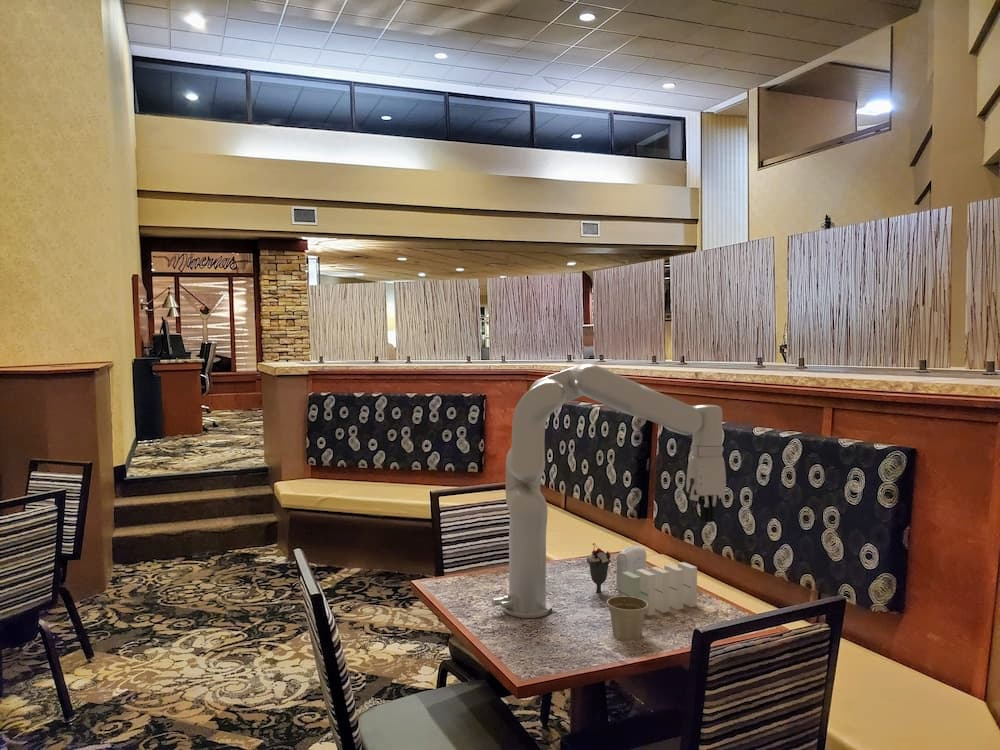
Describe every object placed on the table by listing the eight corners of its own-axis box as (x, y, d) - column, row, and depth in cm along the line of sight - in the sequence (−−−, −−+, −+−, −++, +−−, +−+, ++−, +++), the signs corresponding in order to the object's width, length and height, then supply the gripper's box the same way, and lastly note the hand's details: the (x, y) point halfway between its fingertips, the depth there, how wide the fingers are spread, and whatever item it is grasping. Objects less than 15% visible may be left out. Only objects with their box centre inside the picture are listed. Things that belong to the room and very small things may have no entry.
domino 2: (662, 612, 169) (663, 573, 169) (650, 606, 174) (650, 567, 173) (669, 611, 170) (669, 571, 170) (656, 605, 175) (656, 566, 174)
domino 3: (677, 609, 171) (677, 570, 171) (664, 603, 176) (664, 565, 175) (683, 608, 172) (683, 569, 172) (670, 602, 176) (670, 564, 176)
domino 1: (648, 615, 167) (648, 575, 167) (635, 609, 172) (636, 569, 171) (655, 614, 168) (655, 574, 168) (642, 607, 173) (642, 568, 172)
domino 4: (690, 607, 173) (691, 568, 173) (677, 600, 178) (677, 563, 177) (696, 605, 174) (697, 567, 174) (683, 599, 178) (683, 562, 178)
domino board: (632, 627, 163) (632, 622, 163) (610, 615, 171) (610, 610, 171) (705, 612, 173) (705, 607, 173) (681, 601, 181) (681, 596, 181)
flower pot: (623, 628, 162) (623, 592, 162) (656, 640, 155) (656, 603, 155) (598, 639, 156) (598, 602, 156) (631, 652, 149) (631, 613, 149)
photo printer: (635, 585, 194) (635, 542, 194) (648, 588, 191) (648, 545, 191) (614, 593, 187) (614, 549, 187) (626, 597, 184) (627, 552, 184)
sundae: (584, 599, 182) (584, 544, 182) (589, 591, 188) (589, 538, 188) (608, 602, 180) (608, 546, 180) (613, 594, 186) (613, 540, 186)
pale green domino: (633, 618, 165) (633, 578, 165) (621, 611, 170) (621, 572, 170) (640, 617, 166) (640, 576, 166) (627, 610, 171) (628, 571, 170)
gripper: (718, 448, 185) (718, 515, 185) (675, 451, 178) (675, 521, 178) (739, 451, 178) (738, 521, 178) (695, 455, 171) (694, 527, 172)
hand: (706, 520), depth 178 cm, fingers closed
